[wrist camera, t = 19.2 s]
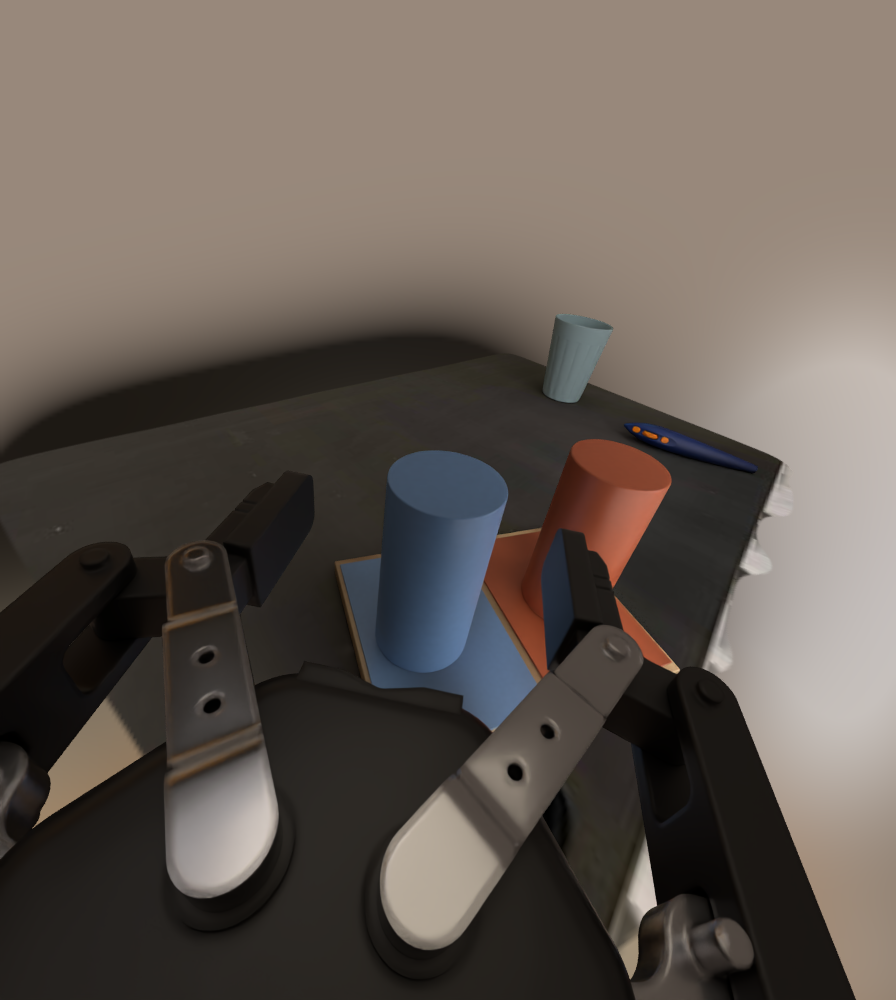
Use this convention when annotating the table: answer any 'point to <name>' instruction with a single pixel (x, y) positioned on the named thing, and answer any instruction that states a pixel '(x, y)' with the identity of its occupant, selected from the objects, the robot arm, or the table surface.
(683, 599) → the table surface
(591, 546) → the rust canister
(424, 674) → the board
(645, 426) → the tapered navy handle
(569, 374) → the cup
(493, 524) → the blue canister
